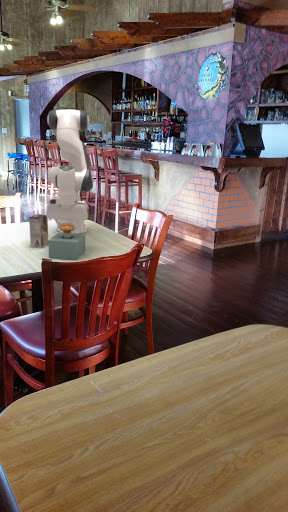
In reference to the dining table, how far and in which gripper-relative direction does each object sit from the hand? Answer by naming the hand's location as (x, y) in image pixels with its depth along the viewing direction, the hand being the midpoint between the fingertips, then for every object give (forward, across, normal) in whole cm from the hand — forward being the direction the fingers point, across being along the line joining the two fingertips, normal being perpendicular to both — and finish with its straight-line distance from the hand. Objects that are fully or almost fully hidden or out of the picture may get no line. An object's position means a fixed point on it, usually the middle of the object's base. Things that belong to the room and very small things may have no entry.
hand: (67, 228), depth 206 cm
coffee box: (+14, +19, -12) cm, 26 cm away
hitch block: (+14, 0, 0) cm, 14 cm away
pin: (+9, 0, 0) cm, 9 cm away
